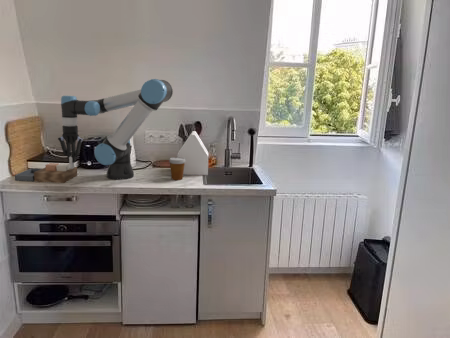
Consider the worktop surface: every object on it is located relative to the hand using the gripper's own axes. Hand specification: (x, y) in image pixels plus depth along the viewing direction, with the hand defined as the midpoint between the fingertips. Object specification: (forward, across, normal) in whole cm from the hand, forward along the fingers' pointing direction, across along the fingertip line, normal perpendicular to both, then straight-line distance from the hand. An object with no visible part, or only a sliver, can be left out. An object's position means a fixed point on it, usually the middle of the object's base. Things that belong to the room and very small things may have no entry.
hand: (72, 168), depth 193 cm
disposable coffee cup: (+6, -56, -12) cm, 58 cm away
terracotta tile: (+2, +11, 0) cm, 11 cm away
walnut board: (+7, +9, 0) cm, 11 cm away
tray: (+7, +22, 0) cm, 23 cm away
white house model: (+6, -63, -31) cm, 71 cm away
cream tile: (+1, +5, 0) cm, 5 cm away
